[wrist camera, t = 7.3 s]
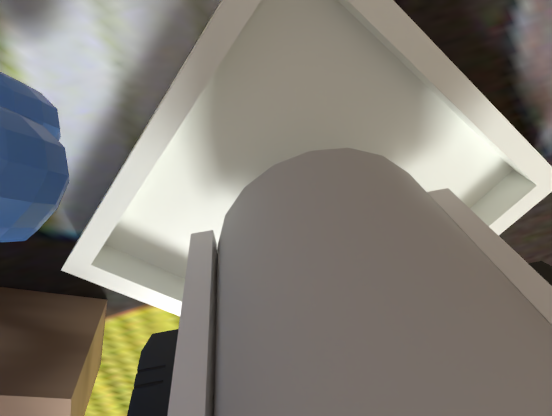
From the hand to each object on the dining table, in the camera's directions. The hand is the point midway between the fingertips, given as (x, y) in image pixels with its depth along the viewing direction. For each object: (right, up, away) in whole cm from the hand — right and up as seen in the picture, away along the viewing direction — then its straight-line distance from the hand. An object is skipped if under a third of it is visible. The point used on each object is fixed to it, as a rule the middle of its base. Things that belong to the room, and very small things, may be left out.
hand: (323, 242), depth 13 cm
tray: (0, +2, +3) cm, 3 cm away
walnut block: (-13, -5, +5) cm, 15 cm away
